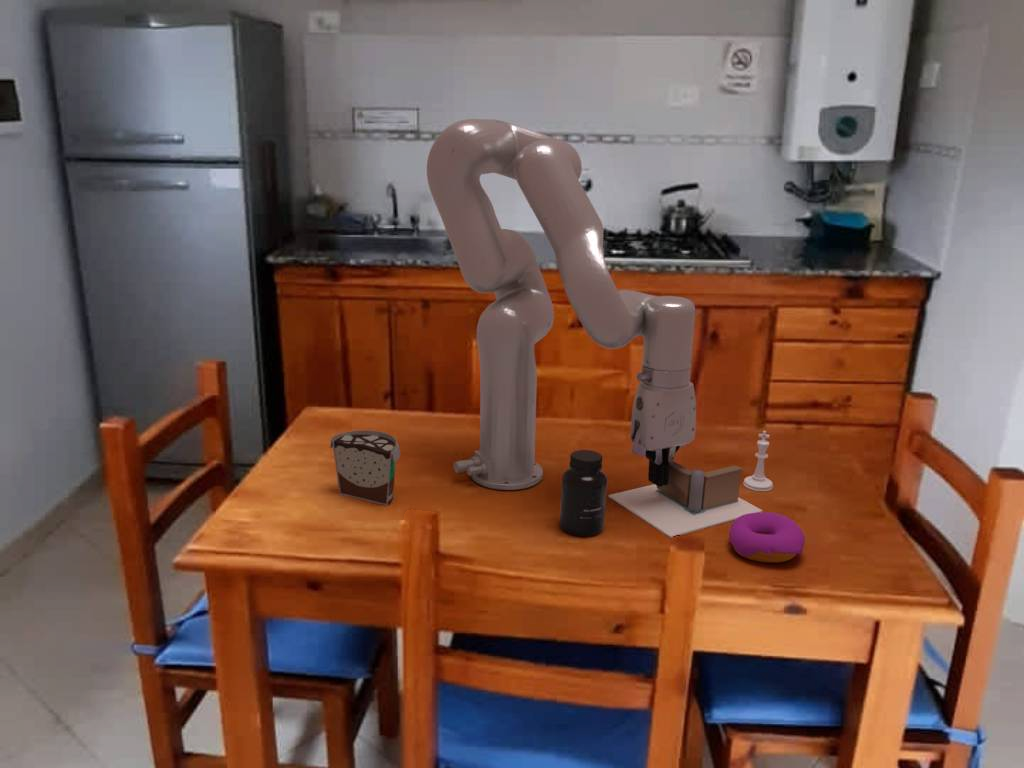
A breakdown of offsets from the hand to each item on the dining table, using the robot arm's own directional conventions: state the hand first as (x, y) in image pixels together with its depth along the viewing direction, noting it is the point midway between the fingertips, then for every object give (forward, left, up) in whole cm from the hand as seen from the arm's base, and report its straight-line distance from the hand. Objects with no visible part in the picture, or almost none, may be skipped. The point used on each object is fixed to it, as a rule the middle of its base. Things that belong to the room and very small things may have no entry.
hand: (658, 482), depth 138 cm
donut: (+4, -20, -4) cm, 21 cm away
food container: (-40, +24, -4) cm, 47 cm away
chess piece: (+20, -3, -4) cm, 21 cm away
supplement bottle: (-16, -2, -4) cm, 17 cm away
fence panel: (+3, -1, -3) cm, 4 cm away
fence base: (+3, -3, -3) cm, 6 cm away
